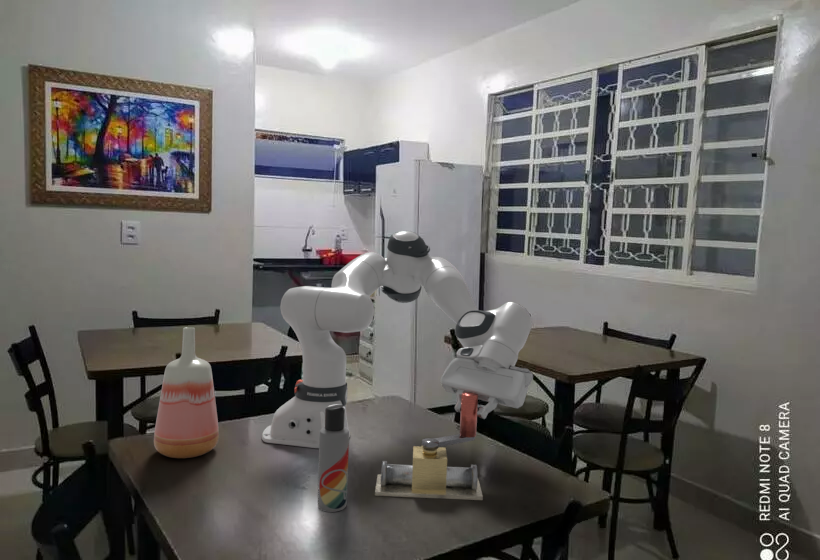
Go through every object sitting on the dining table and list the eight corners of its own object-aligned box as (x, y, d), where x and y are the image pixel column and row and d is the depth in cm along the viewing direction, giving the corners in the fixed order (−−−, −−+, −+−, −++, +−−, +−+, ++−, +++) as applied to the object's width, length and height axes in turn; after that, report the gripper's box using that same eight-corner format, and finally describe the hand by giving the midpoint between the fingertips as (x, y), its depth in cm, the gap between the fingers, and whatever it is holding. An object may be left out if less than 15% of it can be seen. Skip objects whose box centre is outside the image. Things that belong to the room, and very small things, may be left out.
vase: (214, 438, 153) (216, 322, 150) (222, 458, 140) (225, 332, 138) (152, 445, 146) (153, 324, 144) (155, 467, 133) (156, 334, 131)
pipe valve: (374, 495, 123) (376, 453, 123) (377, 477, 132) (379, 438, 132) (482, 500, 123) (484, 458, 123) (478, 482, 132) (479, 442, 131)
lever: (427, 450, 125) (429, 402, 124) (418, 445, 128) (420, 398, 127) (479, 440, 132) (481, 395, 131) (469, 435, 135) (471, 391, 134)
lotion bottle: (341, 514, 115) (344, 411, 113) (313, 510, 116) (316, 408, 114) (350, 501, 120) (353, 403, 119) (323, 498, 121) (326, 400, 120)
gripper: (539, 379, 134) (516, 432, 127) (462, 363, 146) (436, 411, 139) (531, 362, 130) (507, 416, 123) (452, 347, 142) (426, 396, 135)
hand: (469, 413), depth 131 cm, fingers open, 4 cm apart
